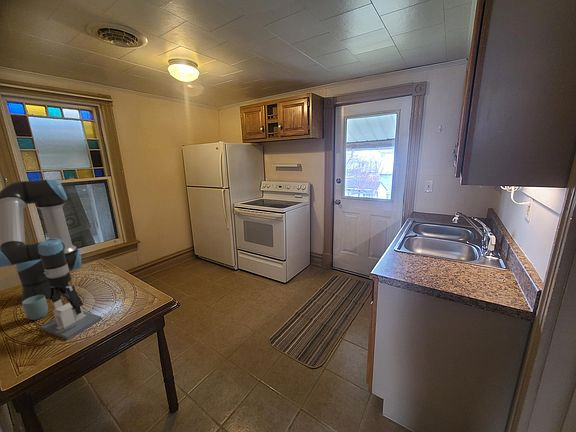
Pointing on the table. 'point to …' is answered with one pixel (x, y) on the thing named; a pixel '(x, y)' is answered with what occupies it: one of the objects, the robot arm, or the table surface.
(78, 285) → the table surface
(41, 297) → the cup
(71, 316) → the housing
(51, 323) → the board
